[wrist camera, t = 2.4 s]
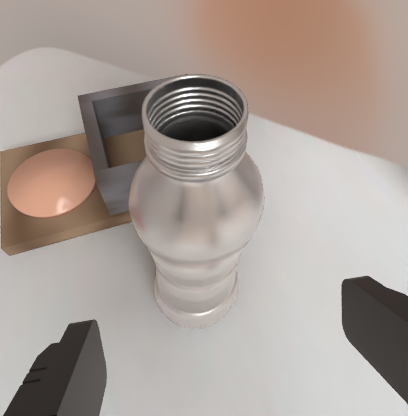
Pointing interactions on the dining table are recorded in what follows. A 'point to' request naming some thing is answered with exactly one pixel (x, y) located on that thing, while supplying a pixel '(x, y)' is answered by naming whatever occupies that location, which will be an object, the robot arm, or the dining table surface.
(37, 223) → the wooden organizer tray
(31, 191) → the terracotta coaster
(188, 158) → the plastic bottle
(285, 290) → the dining table surface
